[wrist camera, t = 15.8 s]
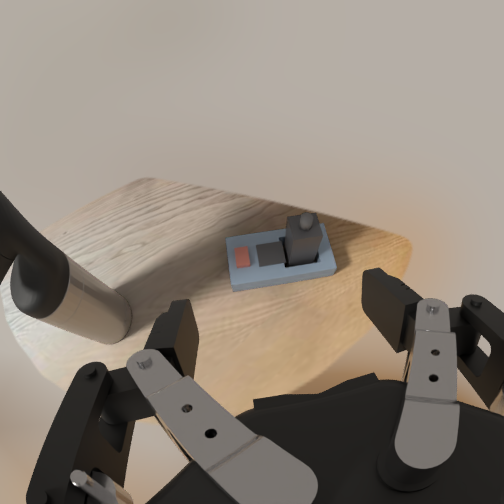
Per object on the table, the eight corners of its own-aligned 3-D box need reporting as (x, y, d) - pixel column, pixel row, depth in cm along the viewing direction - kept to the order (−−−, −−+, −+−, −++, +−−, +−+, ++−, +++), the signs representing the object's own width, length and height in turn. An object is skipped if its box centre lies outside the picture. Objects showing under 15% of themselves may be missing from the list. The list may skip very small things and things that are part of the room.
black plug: (287, 270, 43) (294, 232, 33) (283, 250, 45) (288, 208, 34) (312, 266, 44) (326, 227, 33) (306, 246, 45) (318, 204, 34)
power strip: (233, 291, 42) (230, 283, 39) (227, 246, 46) (224, 235, 42) (332, 275, 43) (338, 265, 39) (320, 232, 46) (324, 220, 43)
